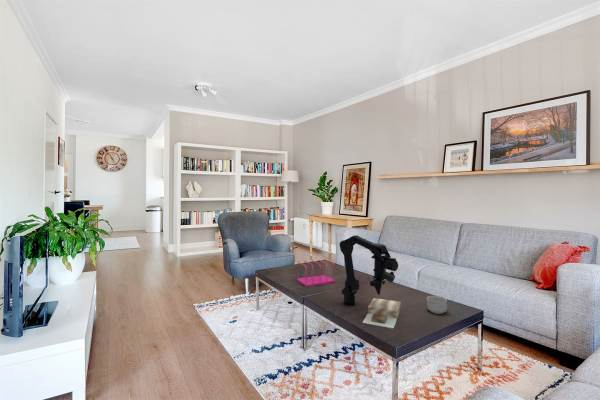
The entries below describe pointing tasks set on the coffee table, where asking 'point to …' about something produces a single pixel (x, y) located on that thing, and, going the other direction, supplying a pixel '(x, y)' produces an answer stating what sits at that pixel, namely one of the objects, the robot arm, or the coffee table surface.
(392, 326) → the sage mat
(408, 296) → the coffee table surface
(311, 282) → the file sorter
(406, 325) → the coffee table surface
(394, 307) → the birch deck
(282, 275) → the coffee table surface
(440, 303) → the teacup
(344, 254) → the robot arm
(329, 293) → the coffee table surface
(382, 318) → the walnut tile
